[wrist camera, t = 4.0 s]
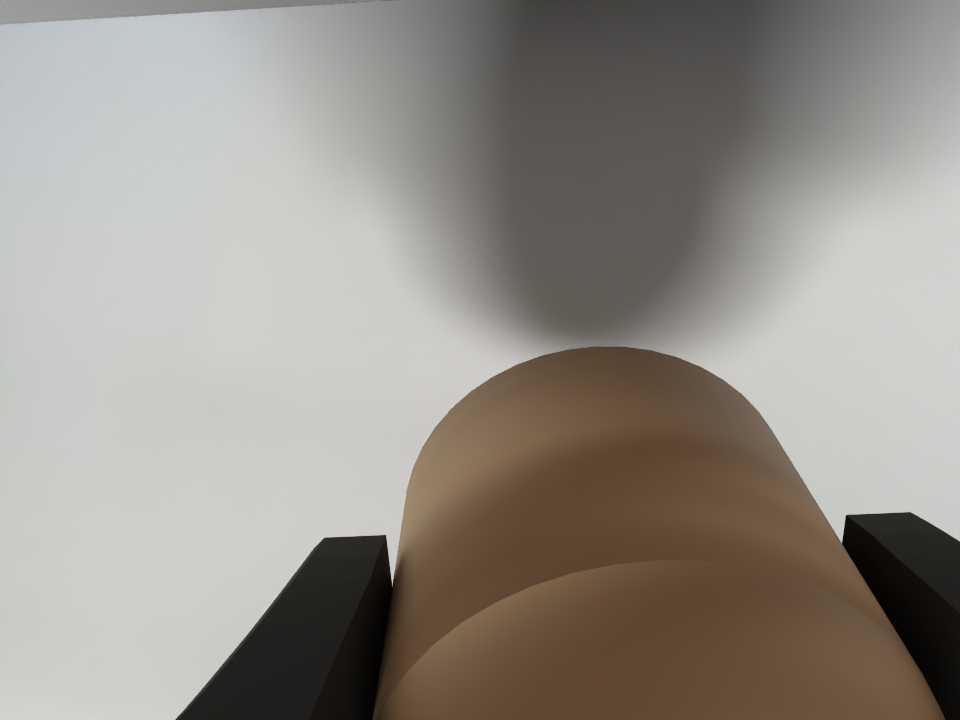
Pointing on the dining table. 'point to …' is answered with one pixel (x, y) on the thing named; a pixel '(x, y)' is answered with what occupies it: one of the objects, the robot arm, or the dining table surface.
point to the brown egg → (627, 562)
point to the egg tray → (132, 8)
